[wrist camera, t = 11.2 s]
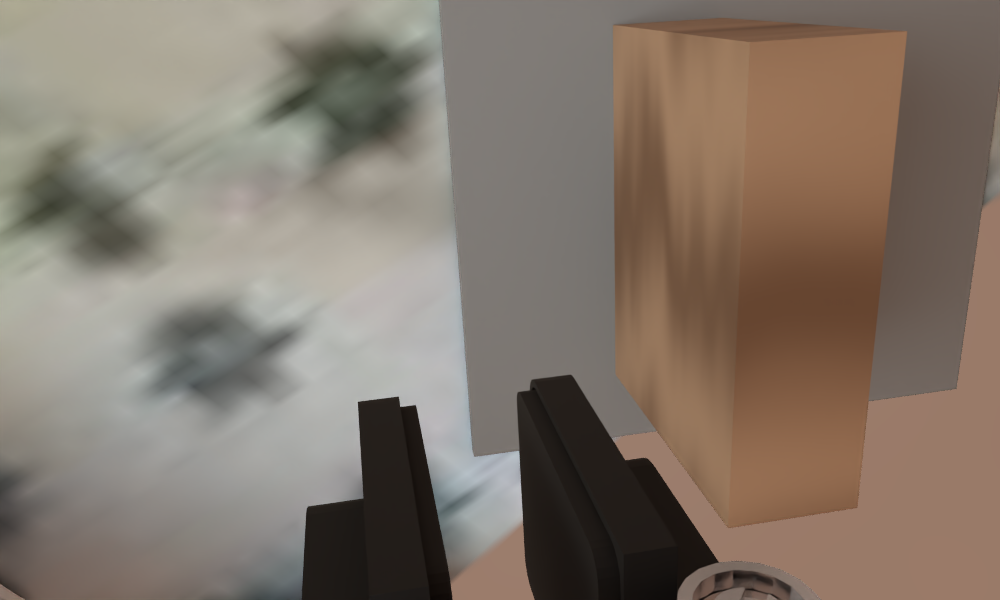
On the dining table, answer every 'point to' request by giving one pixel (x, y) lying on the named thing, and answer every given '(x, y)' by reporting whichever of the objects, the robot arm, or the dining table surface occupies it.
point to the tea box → (8, 594)
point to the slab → (753, 249)
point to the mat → (590, 189)
